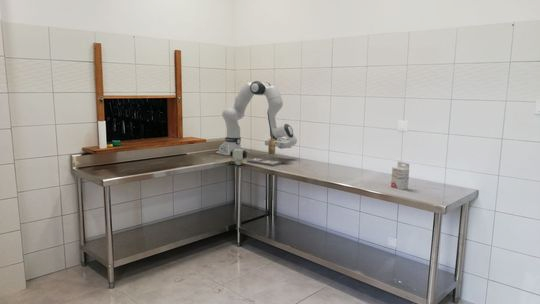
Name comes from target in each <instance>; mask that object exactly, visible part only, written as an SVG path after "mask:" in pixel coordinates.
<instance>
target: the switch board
mask: <svg viewBox="0 0 540 304" xmlns="http://www.w3.org/2000/svg"><path fill="white" fill-rule="evenodd" d="M246 162H247V163H251V164H255V165H256V164H257V165H264V166H268V167H270V166H271V167H275V166H280V165H283V164H284V161H278V160H272V159H266V158H265V159H264V158H256V157H255V158H252V159H247V160H246Z"/></svg>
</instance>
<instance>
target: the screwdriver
mask: <svg viewBox="0 0 540 304" xmlns="http://www.w3.org/2000/svg"><path fill="white" fill-rule="evenodd" d="M268 140H269V144H268V145H267V147H268V155H272V156H274V155H276V146H274V144H275V139H273V132H271V137H270V138H268Z"/></svg>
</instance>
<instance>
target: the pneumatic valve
mask: <svg viewBox="0 0 540 304" xmlns="http://www.w3.org/2000/svg"><path fill="white" fill-rule="evenodd" d="M229 157H231V159H235V161H234V165H235V166H241V165H243V160H246V158H248V152H247V150H246V149H241V150H240V149H239V148H238V149H233V150H232V151H231V152H230V155H229Z"/></svg>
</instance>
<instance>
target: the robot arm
mask: <svg viewBox="0 0 540 304" xmlns="http://www.w3.org/2000/svg"><path fill="white" fill-rule="evenodd" d="M255 95H256V96H265V98H266V100H267V103H268V110H267V119H268V125H269V126H268V127H269V136H270V138H271V132H273V139H275V144H274V146H275V148H276V147H277V148H278V149H280V150H283V149H291V148H292V147H294V146H295V145H296V144H297V143H298V142H297V141H298V140H297V137H296V136H295V134H294V129H293V128H292V126H291V125H290V124H288V123H284V124H282V125H280V126H278V127H277V122H276V116H277V114H278V113H279V112H280V110H281V109H282V108H283V105H284V103H283V98H282V95H281V93H280V91H279V88H278V87H277V86H276V85H271V84H270V83H269V82H267V81H263V80H260V81H259V80H255V81H253V82H252V81H247V82H246V83H245V84H244V85H243V86H242V87H241V89H240V90H239V92H238V93H237V96H235V99H234V104H233V106H231V107H227V108H225V109H224V110H222V118H223V119H224V122H225V126H226V137H224V141H223V143H222V144H221V145H219V148H218V150H217V151H216V152H215V153H216V154H220V155H224V156H230V152H231V151H232V150H233V149H238V148H239V149H240V150H242V145H241V141H242V137H241V126H239V120H241V119H242V118H244V116H245V112H246V109H247V107H248V105H249V103H251V100H252V99H253V97H254V96H255ZM268 144H269V139H268V140H267V139H266V140H264V145H265V146H268Z"/></svg>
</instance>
